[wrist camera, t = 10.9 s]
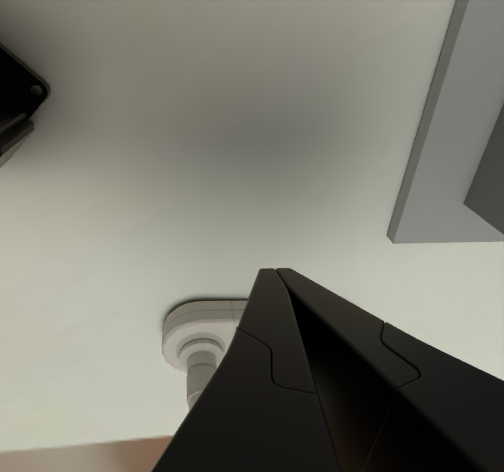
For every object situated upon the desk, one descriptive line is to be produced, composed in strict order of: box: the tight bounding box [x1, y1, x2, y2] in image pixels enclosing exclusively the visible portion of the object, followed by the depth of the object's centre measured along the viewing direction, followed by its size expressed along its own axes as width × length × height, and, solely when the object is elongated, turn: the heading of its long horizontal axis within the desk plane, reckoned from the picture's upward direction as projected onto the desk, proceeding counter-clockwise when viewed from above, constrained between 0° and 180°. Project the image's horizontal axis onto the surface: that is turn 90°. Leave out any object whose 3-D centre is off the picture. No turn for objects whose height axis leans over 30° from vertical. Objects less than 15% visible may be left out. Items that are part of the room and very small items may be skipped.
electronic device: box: [162, 301, 247, 411], centre depth 25 cm, size 5×10×15 cm
